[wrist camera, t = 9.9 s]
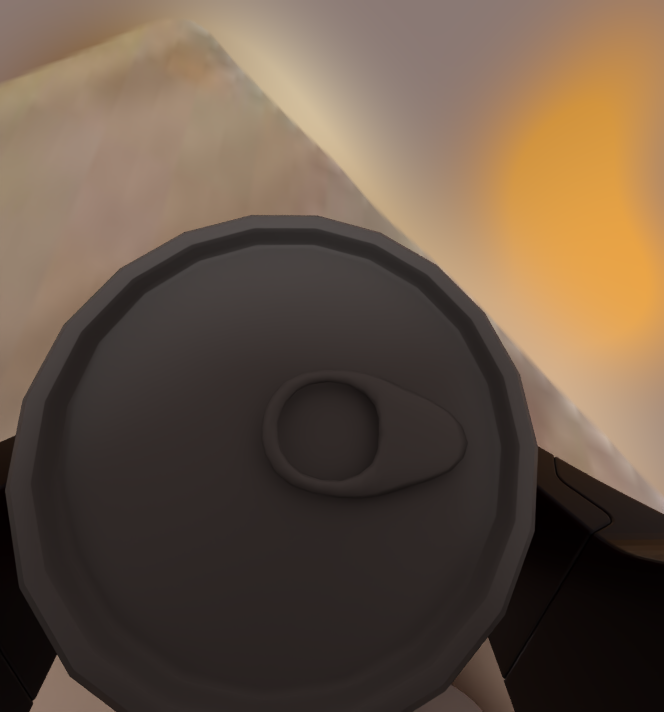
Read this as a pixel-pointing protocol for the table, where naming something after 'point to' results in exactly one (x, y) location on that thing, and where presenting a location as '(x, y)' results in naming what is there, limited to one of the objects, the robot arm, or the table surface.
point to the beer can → (273, 476)
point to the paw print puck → (450, 702)
